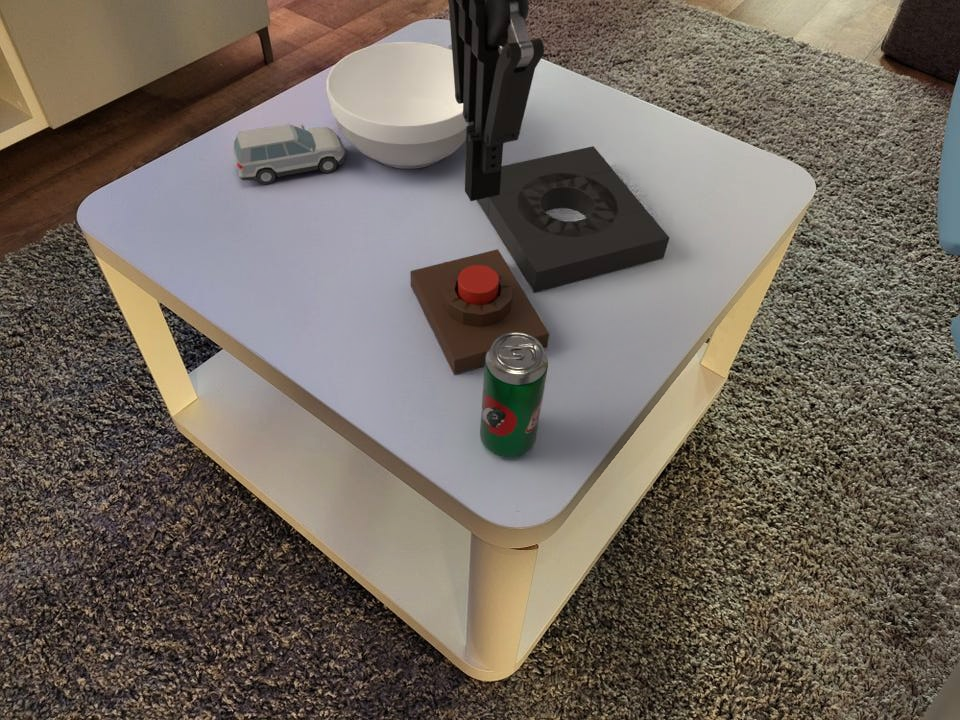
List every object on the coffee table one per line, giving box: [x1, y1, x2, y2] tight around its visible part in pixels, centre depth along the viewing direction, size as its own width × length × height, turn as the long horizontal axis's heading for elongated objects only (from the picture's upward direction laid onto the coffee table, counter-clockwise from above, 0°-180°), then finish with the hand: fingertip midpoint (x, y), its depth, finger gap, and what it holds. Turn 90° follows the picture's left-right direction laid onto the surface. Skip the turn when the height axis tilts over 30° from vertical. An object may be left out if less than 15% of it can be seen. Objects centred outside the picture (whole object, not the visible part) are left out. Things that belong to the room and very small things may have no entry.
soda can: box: [479, 332, 549, 459], centre depth 64 cm, size 5×5×12 cm
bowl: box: [325, 41, 468, 170], centre depth 94 cm, size 19×19×9 cm
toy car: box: [233, 123, 346, 185], centre depth 91 cm, size 6×13×5 cm, turn 110°
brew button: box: [458, 265, 499, 305], centre depth 75 cm, size 4×4×2 cm
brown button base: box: [409, 248, 550, 375], centre depth 77 cm, size 13×10×4 cm
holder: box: [476, 145, 670, 294], centre depth 87 cm, size 18×16×3 cm
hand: (482, 192), depth 66 cm, fingers closed
